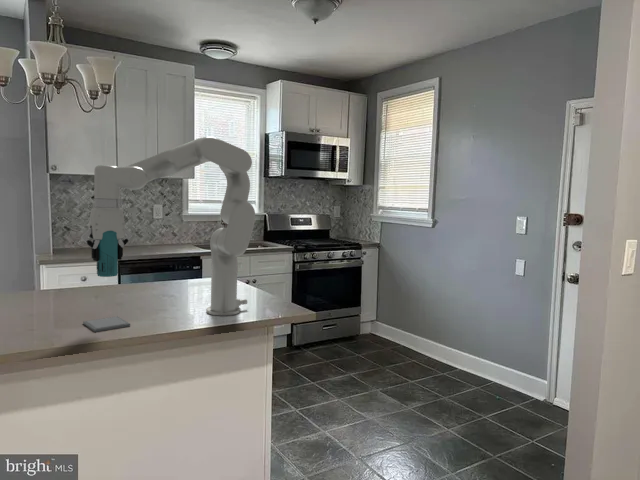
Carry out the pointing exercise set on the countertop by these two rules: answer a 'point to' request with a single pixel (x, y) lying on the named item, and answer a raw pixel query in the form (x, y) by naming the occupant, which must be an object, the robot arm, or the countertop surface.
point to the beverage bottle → (108, 255)
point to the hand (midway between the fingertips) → (107, 259)
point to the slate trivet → (106, 324)
